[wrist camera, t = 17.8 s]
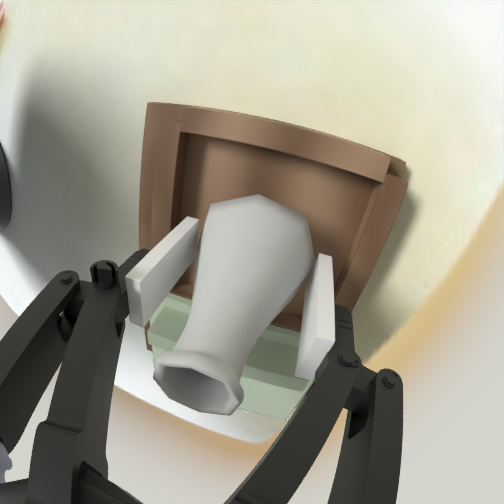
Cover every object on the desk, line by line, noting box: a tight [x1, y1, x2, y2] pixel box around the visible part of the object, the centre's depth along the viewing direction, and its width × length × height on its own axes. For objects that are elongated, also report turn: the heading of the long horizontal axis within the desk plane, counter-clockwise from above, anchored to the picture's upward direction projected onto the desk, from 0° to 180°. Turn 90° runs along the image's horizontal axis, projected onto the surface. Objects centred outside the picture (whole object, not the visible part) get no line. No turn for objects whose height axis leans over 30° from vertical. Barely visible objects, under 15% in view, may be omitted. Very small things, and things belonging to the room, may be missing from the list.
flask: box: [153, 194, 315, 415], centre depth 13 cm, size 7×7×10 cm
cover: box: [147, 293, 315, 420], centre depth 23 cm, size 15×14×4 cm
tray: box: [139, 102, 408, 352], centre depth 21 cm, size 17×25×2 cm
